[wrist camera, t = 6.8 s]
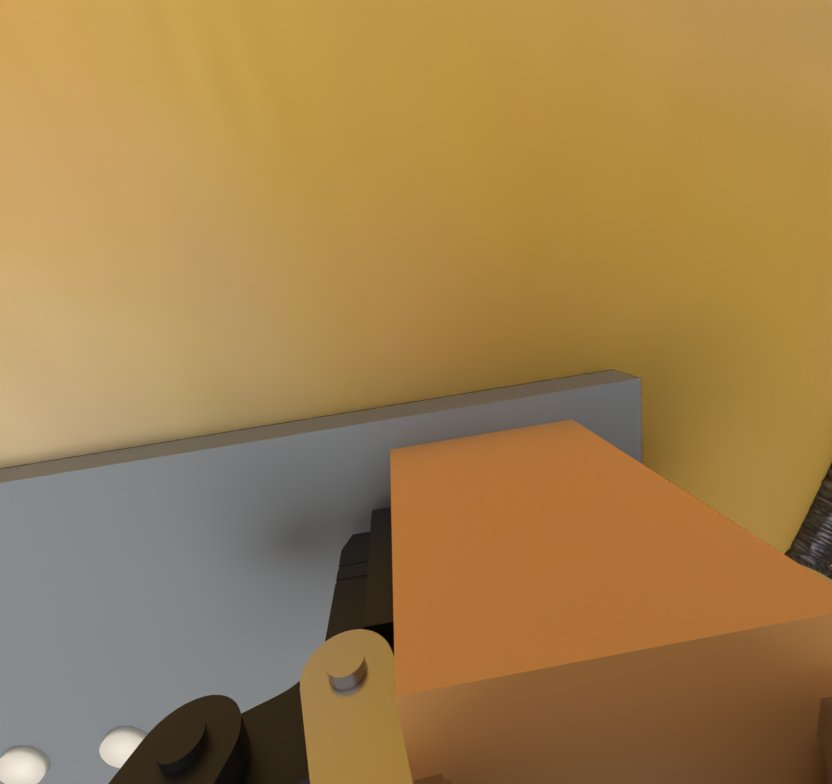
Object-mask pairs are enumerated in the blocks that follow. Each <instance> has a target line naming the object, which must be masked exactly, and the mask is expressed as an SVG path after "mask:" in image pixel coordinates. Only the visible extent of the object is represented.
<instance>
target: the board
mask: <svg viewBox="0 0 832 784" xmlns="http://www.w3.org/2000/svg"><path fill="white" fill-rule="evenodd" d="M571 419H573V420H574V421H576V422H577V423H579V424H580V425H582V426H584V427H585V428H587V429H588V430H590V431H591V432H593V433H595V434H596V435H598V436H599V437H601V438H602V439H604V440H605V441H607V442H609V443H610V444H612V445H613V446H615V447H616V448H618V449H620V450H621V451H623V452H624V453H626V454H627V455H629V456H631V457H632V458H634V459H635V460H637V461H638V462H640V463H641V464H642V432H641V378H638V377H635V376H632V375H629V374H625V373H622V372H619V371H615V370H608V371H602V372H596V373H590V374H583V375H577V376H571V377H565V378H559V379H553V380H546V381H540V382H534V383H528V384H522V385H516V386H509V387H503V388H497V389H491V390H485V391H479V392H472V393H466V394H460V395H454V396H448V397H442V398H435V399H429V400H423V401H417V402H411V403H405V404H398V405H392V406H386V407H380V408H374V409H368V410H361V411H355V412H349V413H343V414H337V415H331V416H324V417H318V418H312V419H306V420H300V421H294V422H287V423H281V424H275V425H269V426H263V427H257V428H250V429H244V430H238V431H232V432H226V433H220V434H213V435H207V436H201V437H195V438H189V439H183V440H176V441H170V442H164V443H158V444H152V445H146V446H139V447H133V448H127V449H121V450H115V451H109V452H102V453H96V454H90V455H84V456H78V457H72V458H65V459H59V460H53V461H47V462H41V463H35V464H28V465H22V466H16V467H10V468H4V469H0V784H109V782H110V781H111V780H112V778H113V777H114V776H115V775H116V773H117V772H118V771H119V769H120V768H121V767H122V766H123V764H124V763H125V762H126V761H127V759H128V758H129V757H130V755H131V754H132V753H133V752H134V750H135V749H136V748H137V747H138V745H139V744H140V743H141V741H142V740H143V739H144V738H145V737H146V736H147V734H148V733H149V732H150V731H151V730H152V729H153V728H154V727H155V726H156V725H157V724H158V723H159V722H160V721H162V720H163V719H164V718H165V717H166V716H168V715H169V714H170V713H172V712H173V711H175V710H176V709H177V708H179V707H181V706H183V705H184V704H186V703H188V702H190V701H193V700H195V699H197V698H201V697H204V696H209V695H224V696H228V697H229V698H231V699H233V700H234V701H235V702H236V703H237V705H238V707H239V709H240V712H241V713H243V712H245V711H247V710H249V709H251V708H253V707H255V706H257V705H259V704H261V703H263V702H265V701H267V700H269V699H272V698H274V697H276V696H278V695H279V694H281V693H283V692H285V691H286V690H288V689H290V688H291V687H292V686H294V685H295V684H296V683H298V682H299V681H300V679H301V674H302V672H303V669H304V666H305V665H306V663H307V661H308V659H309V658H310V657H311V655H312V654H313V653H314V652H315V650H316V649H317V648H318V647H319V646H321V645H322V644H323V643H324V642H325V639H326V633H327V628H328V622H329V617H330V611H331V605H332V600H333V594H334V589H335V584H336V578H337V572H338V569H339V561H340V556H341V550H342V548H343V547H344V546H345V544H346V543H347V542H348V540H349V539H350V538H351V536H352V535H353V534H358V533H364V532H370V530H371V516H372V510H374V509H379V508H385V507H391V475H390V450H391V449H397V448H403V447H409V446H415V445H421V444H427V443H433V442H439V441H445V440H451V439H457V438H463V437H469V436H475V435H481V434H487V433H493V432H499V431H505V430H511V429H517V428H523V427H529V426H535V425H541V424H547V423H553V422H559V421H565V420H571Z"/></svg>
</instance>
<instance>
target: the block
mask: <svg viewBox="0 0 832 784" xmlns="http://www.w3.org/2000/svg"><path fill="white" fill-rule="evenodd" d="M390 475H391V523H392V571H393V620H394V668H395V698H396V703H397V708H398V713H399V718H400V723H401V728H402V733H403V738H404V742H405V747H406V752H407V757H408V762H409V767H410V772H411V777H412V781H413V780H418V779H422V778H426V777H430V776H434V775H437V774H442V776H443V778H444V779H445V780H447V779H449V780H450V781H451V782H452V784H828V777H829V774H828V766H827V762H826V758H825V755H824V752H823V749H822V746H821V744H820V742H819V739H818V737H817V728H818V720H819V712H820V705H821V698H827V697H832V585H831V584H829V583H828V582H826V581H825V580H823V579H822V578H820V577H818V576H817V575H815V574H814V573H812V572H811V571H809V570H807V569H806V568H804V567H803V566H801V565H800V564H798V563H797V562H795V561H793V560H792V559H790V558H789V557H787V556H786V555H784V554H782V553H781V552H779V551H778V550H776V549H775V548H773V547H771V546H770V545H768V544H767V543H765V542H764V541H762V540H760V539H759V538H757V537H756V536H754V535H753V534H751V533H750V532H748V531H746V530H745V529H743V528H742V527H740V526H739V525H737V524H735V523H734V522H732V521H731V520H729V519H728V518H726V517H724V516H723V515H721V514H720V513H718V512H717V511H715V510H714V509H712V508H710V507H709V506H707V505H706V504H704V503H703V502H701V501H699V500H698V499H696V498H695V497H693V496H692V495H690V494H688V493H687V492H685V491H684V490H682V489H681V488H679V487H678V486H676V485H674V484H673V483H671V482H670V481H668V480H667V479H665V478H663V477H662V476H660V475H659V474H657V473H656V472H654V471H652V470H651V469H649V468H648V467H646V466H645V465H643V464H641V463H640V462H638V461H637V460H635V459H634V458H632V457H631V456H629V455H627V454H626V453H624V452H623V451H621V450H620V449H618V448H616V447H615V446H613V445H612V444H610V443H609V442H607V441H605V440H604V439H602V438H601V437H599V436H598V435H596V434H595V433H593V432H591V431H590V430H588V429H587V428H585V427H584V426H582V425H580V424H579V423H577V422H576V421H574V420H573V419H571V420H565V421H559V422H553V423H547V424H541V425H535V426H529V427H523V428H517V429H511V430H505V431H499V432H493V433H487V434H481V435H475V436H469V437H463V438H457V439H451V440H445V441H439V442H433V443H427V444H421V445H415V446H409V447H403V448H397V449H391V450H390Z"/></svg>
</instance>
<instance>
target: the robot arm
mask: <svg viewBox="0 0 832 784" xmlns="http://www.w3.org/2000/svg"><path fill="white" fill-rule="evenodd" d="M801 566H803V565H801ZM803 567H804V568H806V569H807V570H809V571H811V572H812V573H814V574H815V575H817V576H818V577H820V578H822V579H823V580H825V581H826V582H828V583H829V584H831V585H832V580H831V579H830V578H828V577H826V576H825V575H823V574H821V573H819V572H817V571H815V570H813V569H811V568H808V567H806V566H803ZM817 737H818V739H819V742H820V744H821V746H822V749H823V752H824V755H825V758H826V762H827V766H828V774H829V777H828V784H832V697H827V698H821V705H820V712H819V720H818V728H817ZM109 784H452V782H451V781H450V780H449V779H447V780H445V779H444V778H443V776H442V774H437V775H434V776H430V777H426V778H422V779H418V780H413V781H412V777H411V772H410V767H409V762H408V757H407V752H406V747H405V742H404V738H403V733H402V728H401V723H400V718H399V713H398V708H397V703H396V698H395V668H394V620H393V571H392V523H391V507H385V508H379V509H374V510H372V516H371V530H370V532H364V533H358V534H353V535H352V536H351V538H350V539H349V540H348V542H347V543H346V544H345V546H344V547H343V548H342V550H341V556H340V561H339V569H338V572H337V578H336V584H335V589H334V594H333V600H332V605H331V611H330V617H329V622H328V628H327V633H326V639H325V642H324V643H323V644H322V645H321V646H319V647H318V648H317V649H316V650H315V652H314V653H313V654H312V655H311V657H310V658H309V659H308V661H307V663H306V665H305V666H304V669H303V672H302V674H301V679H300V681H299V682H298V683H296V684H295V685H294V686H292V687H291V688H290V689H288V690H286V691H285V692H283V693H281V694H279V695H278V696H276V697H274V698H272V699H269V700H267V701H265V702H263V703H261V704H259V705H257V706H255V707H253V708H251V709H249V710H247V711H245V712H243V713H241V712H240V709H239V707H238V705H237V703H236V702H235V701H234V700H233V699H231V698H229V697H228V696H224V695H209V696H204V697H201V698H197V699H195V700H193V701H190V702H188V703H186V704H184V705H183V706H181V707H179V708H177V709H176V710H175V711H173V712H172V713H170V714H169V715H168V716H166V717H165V718H164V719H163V720H162V721H160V722H159V723H158V724H157V725H156V726H155V727H154V728H153V729H152V730H151V731H150V732H149V733H148V734H147V736H146V737H145V738H144V739H143V740H142V741H141V743H140V744H139V745H138V747H137V748H136V749H135V750H134V752H133V753H132V754H131V755H130V757H129V758H128V759H127V761H126V762H125V763H124V764H123V766H122V767H121V768H120V769H119V771H118V772H117V773H116V775H115V776H114V777H113V778H112V780H111V781H110V782H109Z"/></svg>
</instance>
